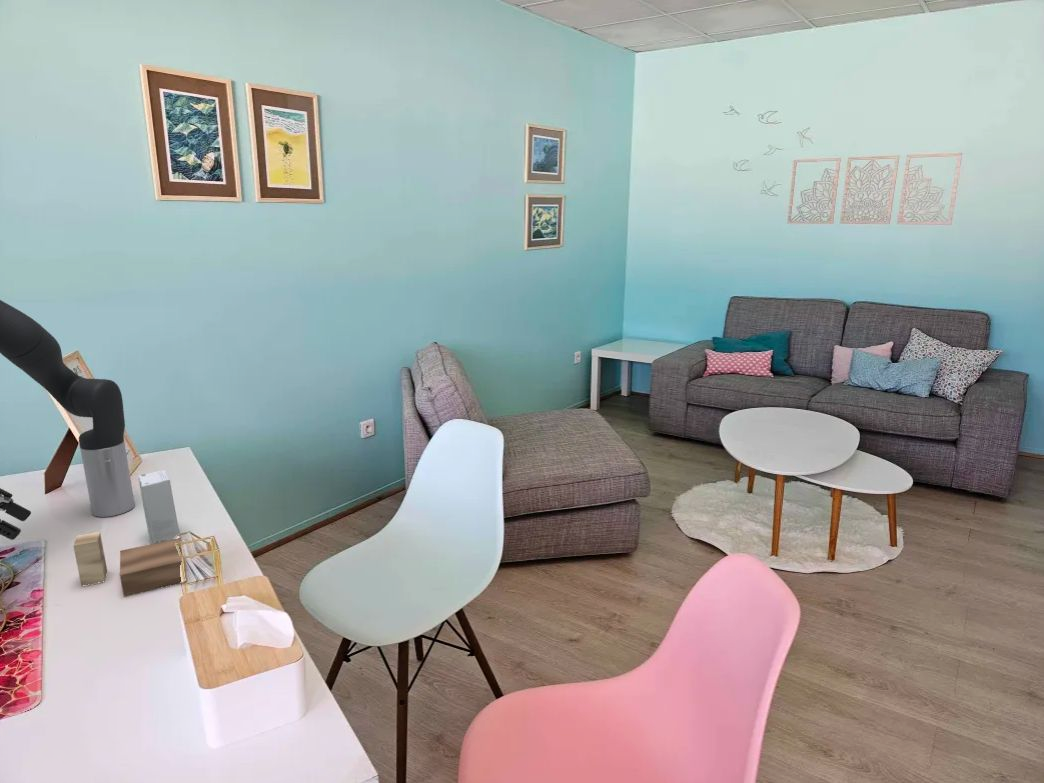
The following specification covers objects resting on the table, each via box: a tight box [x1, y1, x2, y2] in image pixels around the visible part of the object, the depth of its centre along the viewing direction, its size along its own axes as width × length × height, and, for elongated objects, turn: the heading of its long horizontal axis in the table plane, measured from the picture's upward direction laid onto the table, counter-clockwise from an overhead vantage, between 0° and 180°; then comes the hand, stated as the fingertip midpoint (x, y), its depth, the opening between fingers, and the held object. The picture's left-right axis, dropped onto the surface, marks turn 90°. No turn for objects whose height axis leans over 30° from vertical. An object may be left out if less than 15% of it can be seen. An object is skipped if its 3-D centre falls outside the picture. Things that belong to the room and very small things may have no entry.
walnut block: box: [119, 537, 184, 597], centre depth 139 cm, size 11×11×5 cm
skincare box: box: [137, 469, 181, 544], centre depth 154 cm, size 8×6×15 cm
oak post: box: [73, 531, 108, 587], centre depth 138 cm, size 5×4×9 cm
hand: (23, 526), depth 131 cm, fingers open, 8 cm apart
